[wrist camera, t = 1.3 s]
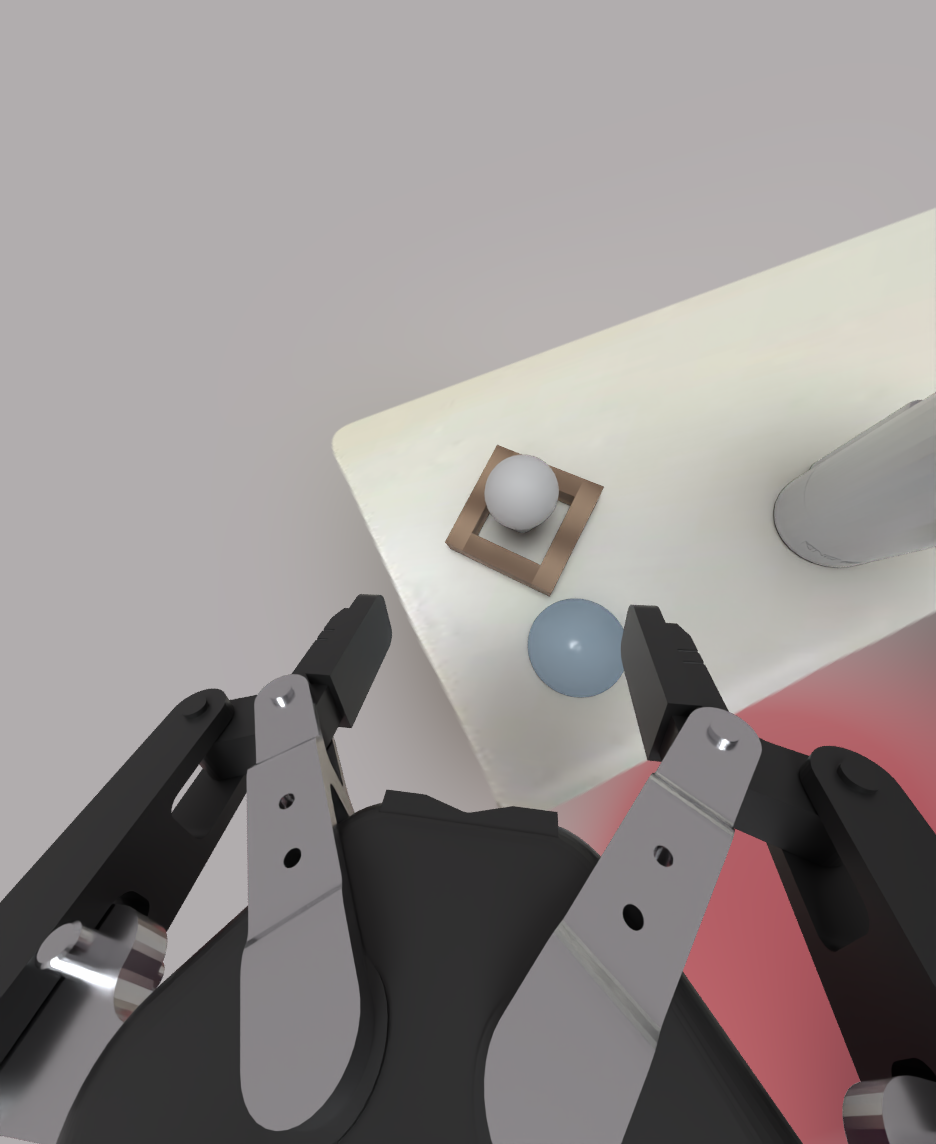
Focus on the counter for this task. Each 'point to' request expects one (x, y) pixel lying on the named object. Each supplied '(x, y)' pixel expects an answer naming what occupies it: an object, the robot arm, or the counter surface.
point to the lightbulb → (521, 492)
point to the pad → (576, 647)
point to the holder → (523, 570)
